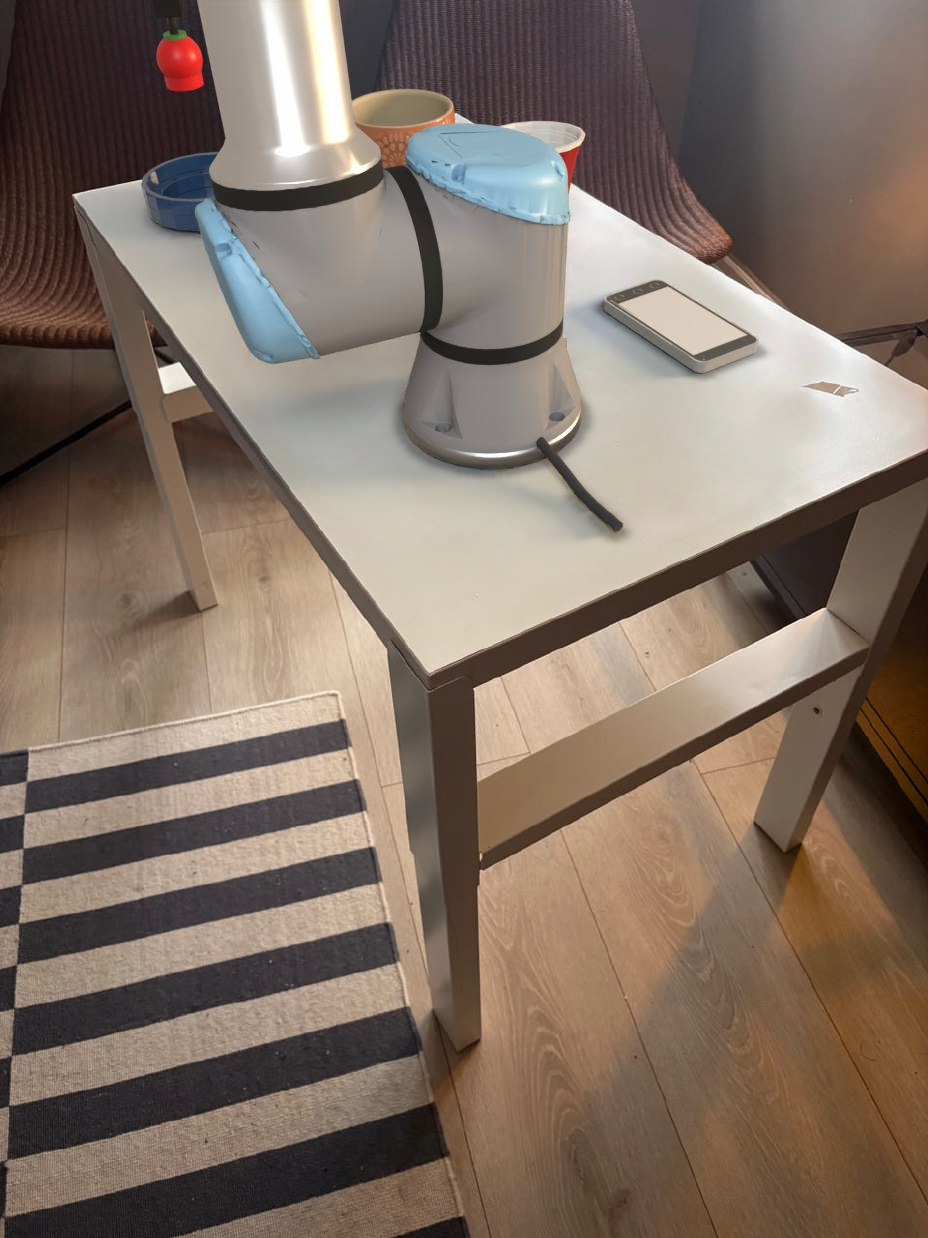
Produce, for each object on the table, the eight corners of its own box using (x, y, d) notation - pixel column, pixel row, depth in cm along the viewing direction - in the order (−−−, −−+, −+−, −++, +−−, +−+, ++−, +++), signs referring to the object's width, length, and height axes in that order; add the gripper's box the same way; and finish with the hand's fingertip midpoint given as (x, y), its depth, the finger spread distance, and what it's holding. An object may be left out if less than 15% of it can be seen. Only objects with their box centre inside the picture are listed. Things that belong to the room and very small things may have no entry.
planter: (339, 224, 116) (327, 124, 109) (370, 181, 125) (360, 85, 117) (444, 231, 114) (439, 130, 106) (467, 187, 123) (465, 90, 115)
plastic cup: (557, 218, 116) (561, 106, 107) (595, 257, 108) (602, 141, 100) (467, 234, 114) (464, 121, 105) (500, 275, 106) (499, 158, 98)
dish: (269, 229, 116) (263, 195, 113) (144, 240, 115) (135, 205, 112) (271, 180, 126) (265, 147, 123) (156, 190, 125) (147, 156, 122)
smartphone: (659, 277, 102) (762, 340, 93) (658, 287, 103) (760, 350, 94) (600, 297, 100) (700, 364, 90) (599, 307, 100) (699, 374, 91)
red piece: (206, 90, 109) (173, -76, 98) (161, 93, 109) (123, -73, 98) (208, 76, 112) (177, -86, 101) (164, 79, 112) (128, -83, 101)
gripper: (142, -285, 84) (202, 31, 101) (157, -297, 94) (210, -7, 111) (50, -281, 84) (126, 36, 100) (75, -293, 93) (140, -2, 110)
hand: (170, 13), depth 105 cm, fingers closed on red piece
